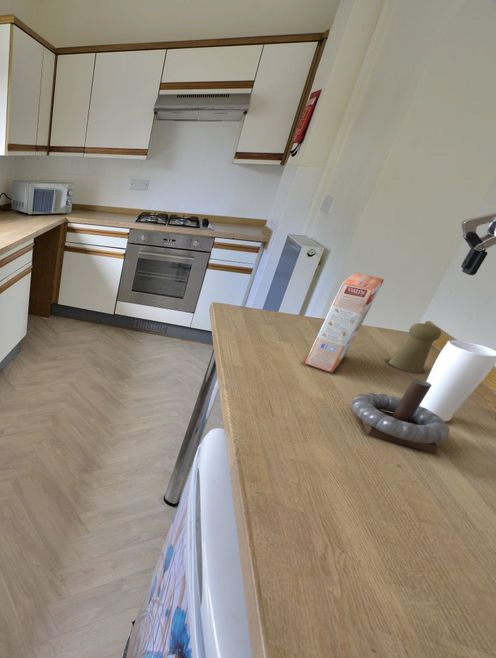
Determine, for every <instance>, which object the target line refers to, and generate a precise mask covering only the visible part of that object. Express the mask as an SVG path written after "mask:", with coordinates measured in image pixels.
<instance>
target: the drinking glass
mask: <svg viewBox="0 0 496 658" xmlns="http://www.w3.org/2000/svg"><path fill="white" fill-rule="evenodd" d="M434 361H435V362H434V364H433V365H432V367H431V370H430V372H429V374H428V376H427V378H426V380H425V381H426V382H428V383H430V384H431V385H432V386H431V387H430V389H429V391H428V392H427V394H426V396H425V397H424V399H423V400H422V402H421V404H420V406H422V407H424V408H426V409H428V410H430V411H432V412H433V413H434V414H436V415H437V416H439V417H440V418H442V419H443V420H444V422H445V423H446V422H449V421H451V420H452V419H453V417H454V415H455V414H456V413H457V411H458V410H459V409H460V408H461V407H462V405H463V404H464V403H465V402H466V401H467V399H469V397H471V395H472V394H473V393H474V391H475V390H476V389H477V388H478V387H479V386H480V384H481V383H482V382H483V381H484V380H485V379H486V377H488V375H489V373H490V372H491V371H492V369H493V368H494V367H495V365H496V350H495V349H492V348H490V347H488V346H485V345H481V344H478V343H474V342H470V341H465V340H458V339H452V340H447V342H446V344H445V345H444V347H443V348H442V349H441V351H440V353H439V354H438V355H437V357H436V359H435V360H434Z"/></svg>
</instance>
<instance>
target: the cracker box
mask: <svg viewBox="0 0 496 658" xmlns="http://www.w3.org/2000/svg"><path fill="white" fill-rule="evenodd" d="M384 282H385V279H384V278H381V277H378V276H372V275H369V274H368V275H367V274H361V273H357V272H356V273H355V272H354V273H353V274H352V275H350V276H349V277H348V278H346V279H344V281H343V282H342V283H341V285H340V287H339V289H338V291H337V293H336V295H335V298H334V300H333V302H332V304H331V306H330V308H329V311H328V313H327V315H326V317H325V319H324V321H323V324H322V326H321V328H320V330H319V332H318V334H317V336H316V339H315V341H314V343H313V345H312V347H311V349H310V351H309V353H308V355H307V357H306V359H305V363H304V364H305V365H307V366H311V367H313V368H316V369H319V370H322V371H325V372H328V373H330V374H332V373H333V372H334V371H335V369H336V368H337V367H338V366H339V364H340V363H341V362H342V361H343V359H344V358H345V357H346V355H347V353H348V351H349V349H350V348H351V346H352V344H353V341H354V340H355V338H356V336H357V334H358V332H359V330H360V328H361V327H362V325H363V323H364V320H365V319H366V317H367V315H368V313H369V312H370V309H371V307H372V305H373V303H374V301H375V300H376V297H377V295H378V293H379V291H380V289H381V287H382V285H383V283H384Z"/></svg>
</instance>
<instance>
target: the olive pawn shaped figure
mask: <svg viewBox="0 0 496 658" xmlns="http://www.w3.org/2000/svg"><path fill="white" fill-rule="evenodd" d="M408 329H409V330H408V334H409V336H408V337H407V338H406V339H405V340H404V342H403V343H402V344H401V345H400V347H399V348H398V349H397V351H396V352H395V353H394V354H393V356H391V358H390V360H389V361H388V363H389V365H391V366H392V367H395V368H397V369H400V370H402V371H405V372H409V373H416V374H417V373H422V372H423V370H424V366H425V364H426V361H427V359H428V356H429V353H430V350H431V348H432V345H433V343H434V342H435V341H437V340H438V339H439V338H440V337H441V335H442V330H441V329H440V328H439V327H437V326H435V325H433V324H430V323H429V324H428V323H421V322H417V323H414V324H412V325H411V326H410V327H409V328H408Z"/></svg>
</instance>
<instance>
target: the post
mask: <svg viewBox="0 0 496 658" xmlns="http://www.w3.org/2000/svg"><path fill="white" fill-rule="evenodd" d="M426 381H427V380H423V379H419V378H418V379H417V378H413V379H412V380H411V382H410V383H409V385H408V387H407V389H406V390H405V392H404V394H403V395H402V397H401V401H400V402H399V404H398V406H397V407H396V409H395V411H394V412H389V411H385V410H380V409H378V410H379V411H381V412H383V413H384V414H386V415H388V416H390V417H393V418H395V419H398V420H401V421H404V422H407V423H411V424H415V425H419V424H417V423H416V422H414V421H412V420H411V418H412V416H413V415H414V413H415V412H416V410H417V408H418V407H419V405H420V404H421V402H422V400H423V399H424V397H425V396H426V394H427V392H428V391H429V389H430V387H431V386H432V385H431V384H430V383H428V382H426ZM361 422H362V425H363V427H364V430H365V432H366V434H367V435H368V436H371V437H374V438H378V439H381V440H385V441H388V442H391V443H395V444H398V445H402V446H406V447H409V448H412V449H416V450H420V451H424V452H427V453H430V454H435V453H436V451H437V450H438V449H439V445H438V444H437V442H436V443H430V444H427V443H418V442H411V441H408V440H404V439H400V438H397V437H394V436H391V435H389V434H386V433H384V432H382V431H379V430H377V429H375V428H374V427H372V426H370V425H369V424H367V423H365V422H364V421H363V420H361Z"/></svg>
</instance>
